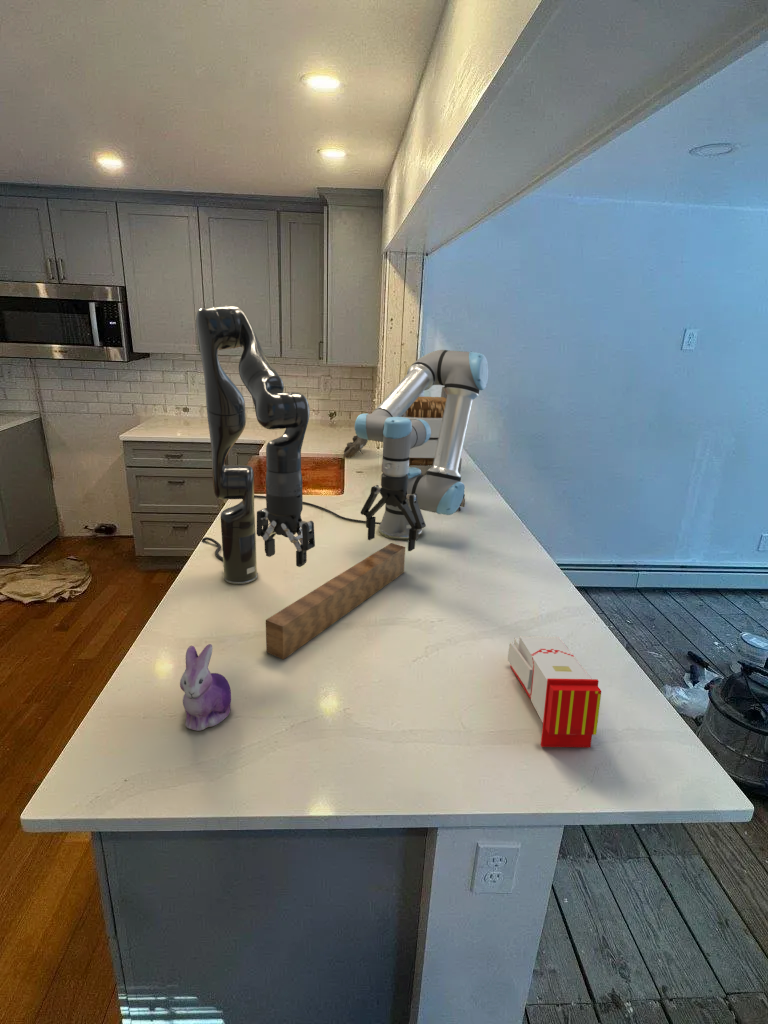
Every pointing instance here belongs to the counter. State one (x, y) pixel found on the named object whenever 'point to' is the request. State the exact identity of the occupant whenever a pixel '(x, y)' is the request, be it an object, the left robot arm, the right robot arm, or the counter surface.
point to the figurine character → (462, 503)
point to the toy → (557, 690)
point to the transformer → (432, 414)
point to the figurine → (204, 691)
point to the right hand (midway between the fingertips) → (390, 544)
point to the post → (332, 601)
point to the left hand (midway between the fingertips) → (285, 560)
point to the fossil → (354, 446)
